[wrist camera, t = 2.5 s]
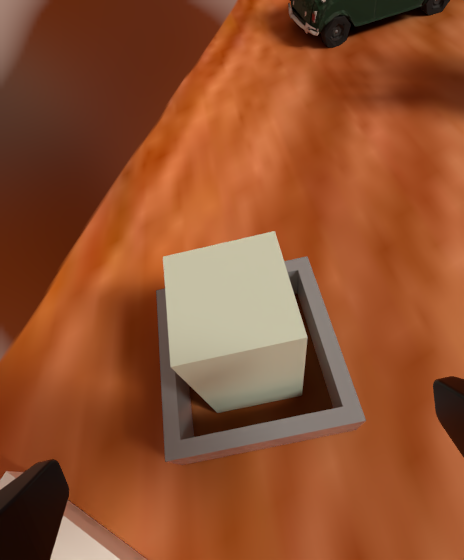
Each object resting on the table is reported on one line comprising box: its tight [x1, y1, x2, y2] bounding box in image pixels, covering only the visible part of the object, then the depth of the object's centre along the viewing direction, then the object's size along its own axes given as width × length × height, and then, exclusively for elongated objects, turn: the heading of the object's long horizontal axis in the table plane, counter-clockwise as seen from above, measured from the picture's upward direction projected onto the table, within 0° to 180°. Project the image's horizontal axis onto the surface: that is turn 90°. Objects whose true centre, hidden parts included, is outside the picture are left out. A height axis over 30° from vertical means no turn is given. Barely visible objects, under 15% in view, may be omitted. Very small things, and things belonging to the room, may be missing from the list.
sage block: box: [163, 231, 308, 413], centre depth 17 cm, size 5×5×9 cm
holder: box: [156, 257, 366, 465], centre depth 20 cm, size 10×10×3 cm
